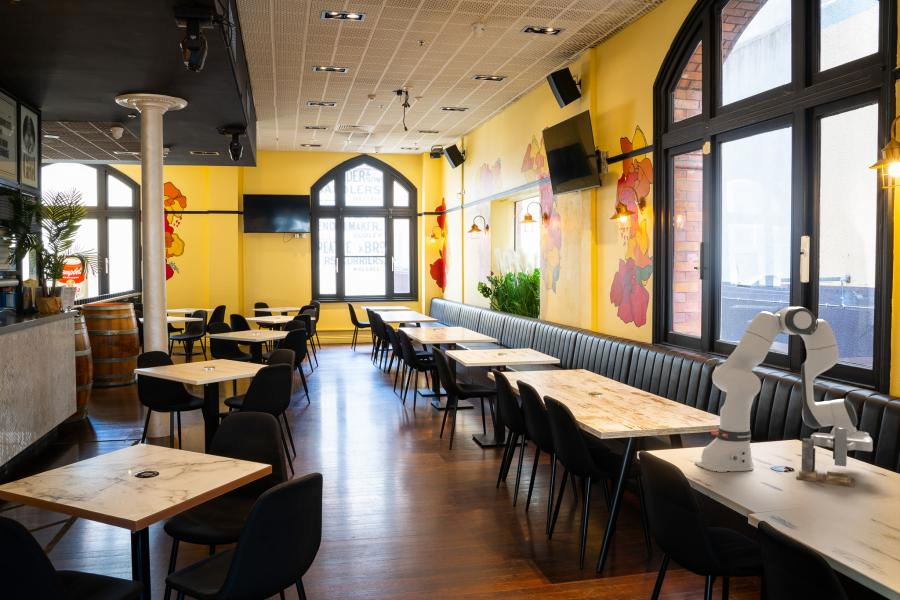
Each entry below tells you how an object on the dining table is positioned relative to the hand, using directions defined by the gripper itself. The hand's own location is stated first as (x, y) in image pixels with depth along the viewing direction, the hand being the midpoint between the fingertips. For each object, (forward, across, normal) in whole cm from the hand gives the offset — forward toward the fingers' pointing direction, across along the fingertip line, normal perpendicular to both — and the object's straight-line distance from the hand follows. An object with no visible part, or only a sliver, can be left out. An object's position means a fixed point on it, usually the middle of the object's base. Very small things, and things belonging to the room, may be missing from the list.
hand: (839, 446), depth 257 cm
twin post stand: (-1, -4, +13) cm, 14 cm away
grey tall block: (-1, 0, +7) cm, 7 cm away
